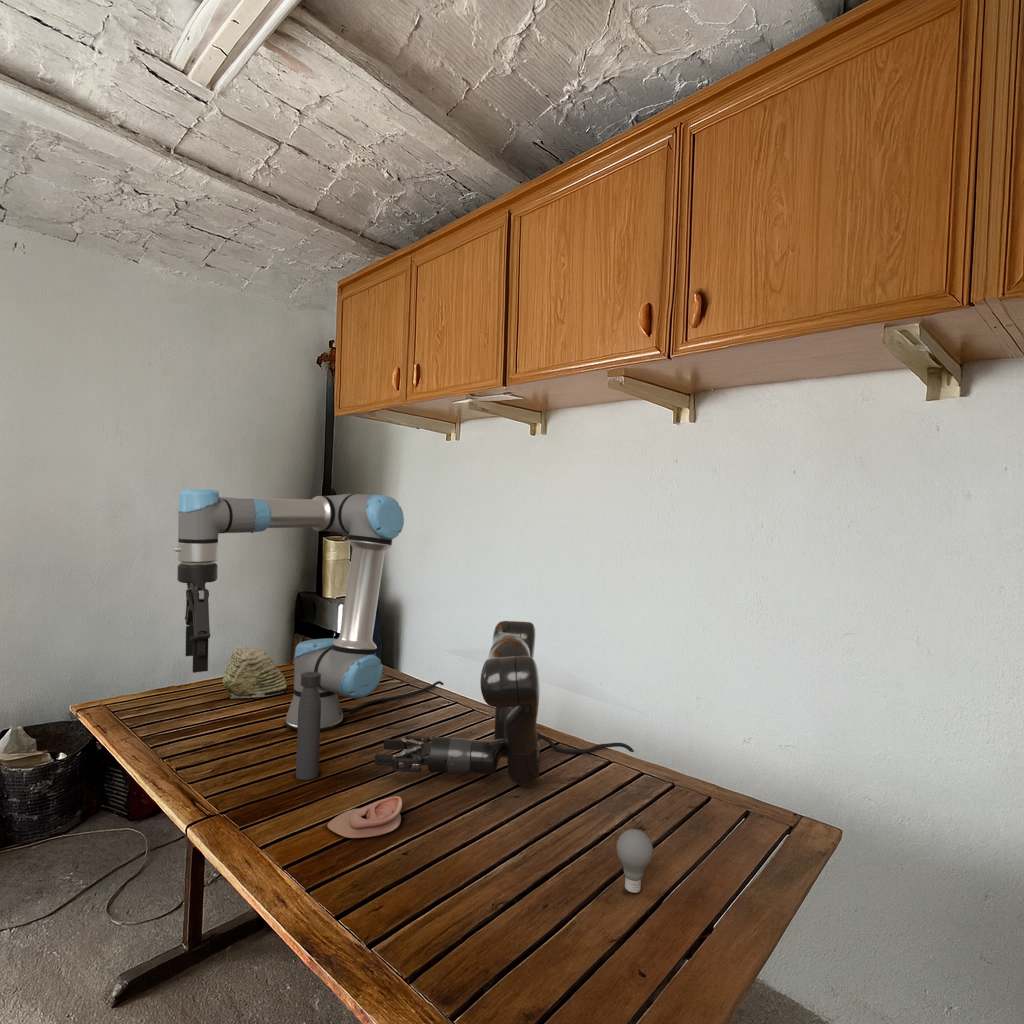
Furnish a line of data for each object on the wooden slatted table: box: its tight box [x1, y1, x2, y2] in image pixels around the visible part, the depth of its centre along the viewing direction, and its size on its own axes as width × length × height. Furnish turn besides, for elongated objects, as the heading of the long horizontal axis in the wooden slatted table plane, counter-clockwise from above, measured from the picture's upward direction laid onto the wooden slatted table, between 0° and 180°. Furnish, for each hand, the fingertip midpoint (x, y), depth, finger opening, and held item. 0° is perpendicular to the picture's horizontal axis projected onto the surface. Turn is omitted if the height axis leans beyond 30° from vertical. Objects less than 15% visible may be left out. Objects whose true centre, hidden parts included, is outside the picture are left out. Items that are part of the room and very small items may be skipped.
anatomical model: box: [327, 795, 403, 839], centre depth 123 cm, size 13×4×12 cm
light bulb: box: [615, 828, 654, 894], centre depth 106 cm, size 6×6×10 cm
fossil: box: [222, 646, 288, 699], centre depth 198 cm, size 9×18×15 cm, turn 132°
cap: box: [301, 672, 321, 687], centre depth 143 cm, size 4×4×2 cm
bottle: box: [295, 686, 321, 781], centre depth 143 cm, size 5×5×23 cm
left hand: (196, 663), depth 133 cm, fingers open, 13 cm apart
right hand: (379, 751), depth 143 cm, fingers open, 8 cm apart
